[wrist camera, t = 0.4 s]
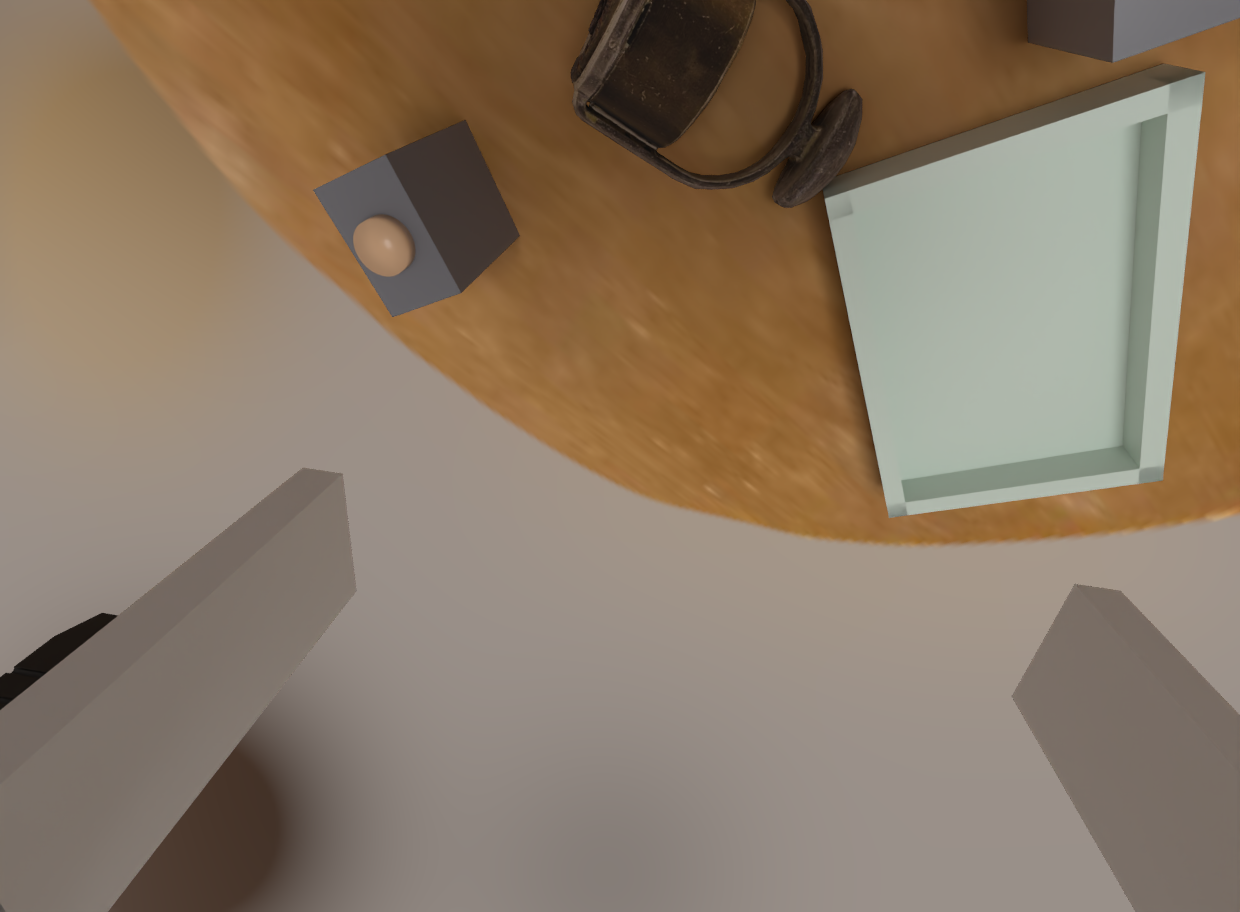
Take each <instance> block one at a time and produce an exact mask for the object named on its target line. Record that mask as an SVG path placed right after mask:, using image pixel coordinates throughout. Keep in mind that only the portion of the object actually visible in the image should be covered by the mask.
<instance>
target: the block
mask: <svg viewBox="0 0 1240 912" xmlns="http://www.w3.org/2000/svg"><path fill="white" fill-rule="evenodd" d="M1238 18H1240V0H1027V25H1028V43H1032V44H1036V45H1041V46H1045V47H1049V48H1053V49H1057V50H1061V51H1066V52H1070V53H1074V54H1078V55H1082V56H1087V57H1091V58H1095V59H1099V60H1103V61H1107V62H1112V63H1113V62H1116V61H1119V60H1122V59H1125V58H1127V57H1130V56H1133V55H1136V54H1139V53H1142V52H1144V51H1147V50H1150V49H1153V48H1156V47H1159V46H1161V45H1164V44H1167V43H1170V42H1173V41H1176V40H1178V39H1181V38H1184V37H1187V36H1190V35H1193V34H1195V33H1198V32H1201V31H1204V30H1207V29H1209V28H1212V27H1215V26H1218V25H1221V24H1224V23H1226V22H1229V21H1232V20H1235V19H1238Z"/></svg>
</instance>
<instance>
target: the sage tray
mask: <svg viewBox="0 0 1240 912" xmlns="http://www.w3.org/2000/svg"><path fill="white" fill-rule="evenodd" d="M1204 80H1205V72H1202V71H1197V70H1193V69H1188V68H1183V67H1178V66H1173V65H1169V64H1161V65H1158V66H1155V67H1152V68H1150V69H1147V70H1144V71H1141V72H1138V73H1135V74H1132V75H1129V76H1126V77H1123V78H1120V79H1118V80H1115V81H1112V82H1109V83H1106V84H1103V85H1100V86H1097V87H1094V88H1091V89H1088V90H1086V91H1083V92H1080V93H1077V94H1074V95H1071V96H1068V97H1065V98H1062V99H1059V100H1056V101H1054V102H1051V103H1048V104H1045V105H1042V106H1039V107H1036V108H1033V109H1030V110H1027V111H1025V112H1022V113H1019V114H1016V115H1013V116H1010V117H1007V118H1004V119H1001V120H998V121H995V122H993V123H990V124H987V125H984V126H981V127H978V128H975V129H972V130H969V131H966V132H963V133H961V134H958V135H955V136H952V137H949V138H946V139H943V140H940V141H937V142H934V143H931V144H929V145H926V146H923V147H920V148H917V149H914V150H911V151H908V152H905V153H902V154H899V155H897V156H894V157H891V158H888V159H885V160H882V161H879V162H876V163H873V164H870V165H868V166H865V167H862V168H859V169H856V170H853V171H850V172H847V173H844V174H841V175H838V176H836V177H834V178H833V180H832V181H830V182H829V183H828V184H827V185H826V186H825V187H824V188H823V194H824V198H825V203H826V208H827V213H828V218H829V223H830V228H831V233H832V238H833V243H834V248H835V253H836V258H837V263H838V268H839V273H840V278H841V283H842V287H843V292H844V297H845V302H846V307H847V312H848V317H849V322H850V327H851V332H852V337H853V342H854V347H855V352H856V357H857V362H858V367H859V372H860V376H861V381H862V386H863V391H864V396H865V401H866V406H867V411H868V416H869V421H870V426H871V431H872V436H873V441H874V446H875V451H876V456H877V461H878V466H879V470H880V475H881V480H882V485H883V490H884V495H885V500H886V505H887V510H888V514H889V518H891V517H898V516H905V515H913V514H920V513H927V512H935V511H942V510H949V509H957V508H964V507H971V506H979V505H986V504H993V503H1001V502H1008V501H1015V500H1023V499H1030V498H1037V497H1045V496H1052V495H1059V494H1067V493H1074V492H1082V491H1089V490H1096V489H1104V488H1111V487H1118V486H1126V485H1133V484H1140V483H1148V482H1155V481H1162V480H1163V472H1164V462H1165V453H1166V443H1167V434H1168V424H1169V415H1170V405H1171V396H1172V386H1173V376H1174V367H1175V357H1176V348H1177V338H1178V329H1179V319H1180V310H1181V300H1182V290H1183V281H1184V271H1185V262H1186V252H1187V243H1188V233H1189V224H1190V214H1191V205H1192V195H1193V185H1194V176H1195V166H1196V157H1197V147H1198V138H1199V128H1200V119H1201V109H1202V99H1203V90H1204Z"/></svg>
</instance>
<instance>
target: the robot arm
mask: <svg viewBox="0 0 1240 912" xmlns="http://www.w3.org/2000/svg"><path fill="white" fill-rule="evenodd" d="M355 592H356V583H355V574H354V566H353V557H352V549H351V541H350V532H349V523H348V516H347V507H346V498H345V490H344V481H343V474H341V473H334V472H328V471H321V470H314V469H307V468H302V469H301V470H299V471H298V472H297V473H296V474H294V475H293V476H292V477H291V478H289V479H288V480H287V481H286V482H284V483H283V484H282V485H281V486H279V487H278V488H277V489H276V490H274V491H273V492H272V493H271V494H269V495H268V496H267V497H266V498H264V499H263V500H262V501H261V502H259V503H258V504H257V505H256V506H254V508H252V509H251V510H250V511H248V512H247V513H246V514H245V515H243V516H242V517H241V518H239V519H238V520H237V521H236V522H234V523H233V524H232V525H231V526H229V527H228V528H227V529H226V530H225V531H223V532H222V533H221V534H219V535H218V536H217V537H216V538H214V539H213V540H212V541H211V542H209V543H208V544H207V545H206V546H204V547H203V548H202V549H201V550H200V551H199V552H197V553H196V554H195V555H193V556H192V557H191V558H190V559H188V560H187V561H186V562H185V563H183V564H182V565H181V566H180V567H178V568H177V569H176V570H175V571H173V572H172V573H171V574H170V575H168V576H167V577H166V578H165V579H163V580H162V581H161V582H160V583H158V584H157V585H156V586H155V587H153V588H152V589H151V590H150V591H148V592H147V593H146V594H145V595H143V596H142V597H141V598H140V599H138V600H137V601H136V602H135V603H134V604H132V605H131V606H130V607H128V608H127V609H126V610H125V611H123V612H122V613H121V614H120V615H118V616H117V615H112V614H106V613H101V614H99V615H97V616H95V617H93V618H91V619H89V620H87V621H85V622H83V623H80V624H78V625H76V626H75V627H72V628H70V629H68V630H66V631H64V632H62V633H60V634H58V635H56V636H54V637H53V638H52V639H50V640H49V641H48V642H46V643H45V644H44V645H42V646H41V647H40V648H38V649H37V650H36V651H34V652H33V653H32V654H31V655H29V656H28V657H26V658H25V659H24V660H22V661H21V662H20V663H18V664H17V665H16V666H14V671H13V672H12V673H5V674H4V675H2V676H1V677H0V912H108V910H109V909H110V908H111V907H112V905H113V904H114V903H115V901H116V900H117V899H118V897H119V896H120V895H121V894H122V892H123V891H124V890H125V889H126V887H127V886H128V885H129V883H130V882H131V881H132V879H133V878H134V877H135V875H136V874H137V873H138V872H139V871H140V869H141V868H142V866H143V865H144V864H145V863H146V861H147V860H148V859H149V858H150V856H151V855H152V854H153V852H154V851H155V850H156V849H157V847H158V846H159V845H160V843H161V842H162V841H163V840H164V838H165V837H166V836H167V834H168V833H169V832H170V830H171V829H172V828H173V827H174V825H175V824H176V823H177V822H178V820H179V819H180V818H181V816H182V815H183V814H184V813H185V811H186V810H187V809H188V807H189V806H190V805H191V804H192V802H193V801H194V799H195V798H196V797H197V796H198V795H199V793H200V792H201V791H202V789H203V788H204V787H205V785H206V784H207V783H208V782H209V780H210V779H211V778H212V776H213V775H214V774H215V772H216V771H217V770H218V769H219V767H220V766H221V764H223V762H224V761H225V760H226V758H227V757H228V756H229V755H230V753H231V752H232V751H233V749H234V748H235V747H236V746H237V744H238V743H239V742H240V740H241V739H242V738H243V736H244V735H245V734H246V733H247V731H248V730H249V729H250V728H251V726H252V725H253V724H254V722H255V721H256V720H257V718H258V717H259V716H260V714H261V713H262V712H263V711H264V709H265V708H266V707H267V706H268V704H269V703H270V702H271V700H272V699H273V698H274V697H275V695H276V694H277V693H278V691H279V690H280V689H281V688H282V686H283V685H284V684H285V682H286V681H287V680H288V679H289V677H290V676H291V675H292V673H293V672H294V671H295V670H296V668H297V667H298V666H299V664H300V663H301V662H302V660H303V659H304V658H305V657H306V655H307V654H308V653H309V651H310V650H311V649H312V648H313V646H314V645H315V644H316V642H317V641H318V640H319V639H320V637H321V636H322V635H323V633H324V632H325V631H326V630H327V628H328V627H329V626H330V624H331V623H332V622H333V621H334V619H335V618H336V617H337V615H338V614H339V613H340V611H341V610H342V609H343V607H344V606H345V605H346V604H347V602H348V601H349V600H350V599H351V597H352V596H353V595H354V594H355ZM1012 698H1013V700H1014V701H1015V703H1016V705H1017V707H1018V708H1019V710H1020V712H1021V714H1022V715H1023V717H1024V719H1025V721H1026V722H1027V724H1028V726H1029V728H1030V729H1031V731H1032V733H1033V734H1034V736H1035V738H1036V740H1037V741H1038V743H1039V745H1040V747H1041V748H1042V750H1043V752H1044V754H1045V755H1046V757H1047V759H1048V761H1049V762H1050V764H1051V766H1052V767H1053V769H1054V771H1055V773H1056V774H1057V776H1058V778H1059V780H1060V781H1061V783H1062V785H1063V787H1064V788H1065V790H1066V792H1067V794H1068V795H1069V797H1070V799H1071V801H1072V802H1073V804H1074V805H1075V808H1076V809H1077V811H1078V813H1079V814H1080V816H1081V818H1082V820H1083V821H1084V823H1085V825H1086V827H1087V828H1088V830H1089V832H1090V834H1091V835H1092V837H1093V839H1094V840H1095V842H1096V844H1097V846H1098V848H1099V849H1100V851H1101V853H1102V855H1103V856H1104V858H1105V860H1106V861H1107V863H1108V865H1109V866H1110V868H1111V870H1112V872H1113V874H1114V875H1115V877H1116V879H1117V881H1118V882H1119V884H1120V886H1121V887H1122V889H1123V891H1124V893H1125V895H1126V896H1127V898H1128V900H1129V901H1130V903H1131V905H1132V907H1133V908H1134V910H1135V912H1240V715H1239V714H1238V713H1237V712H1236V711H1235V710H1234V708H1232V706H1231V705H1229V703H1228V702H1227V701H1226V700H1225V699H1224V698H1223V697H1222V696H1221V695H1220V694H1219V693H1218V692H1217V691H1216V690H1215V689H1214V688H1213V687H1212V686H1211V685H1210V683H1208V681H1207V680H1206V679H1205V678H1204V677H1203V676H1202V675H1201V674H1200V673H1199V672H1198V671H1197V670H1196V669H1195V668H1194V667H1193V666H1192V665H1191V664H1190V663H1189V662H1188V661H1187V660H1186V659H1185V657H1184V656H1183V655H1181V653H1180V652H1179V651H1178V650H1177V649H1176V648H1175V647H1174V646H1173V645H1172V644H1171V643H1170V642H1169V641H1168V640H1167V639H1166V638H1165V637H1164V636H1163V635H1162V634H1161V633H1160V631H1159V630H1158V629H1157V628H1156V627H1155V626H1154V625H1153V624H1152V623H1151V622H1150V621H1149V620H1148V619H1147V618H1146V617H1145V616H1144V615H1143V614H1142V613H1141V612H1140V611H1139V610H1138V609H1137V607H1136V606H1134V604H1133V603H1132V602H1131V601H1130V600H1129V599H1128V598H1127V597H1126V596H1125V595H1124V594H1123V593H1122V592H1121V591H1118V590H1111V589H1105V588H1098V587H1092V586H1085V585H1078V584H1074V586H1073V588H1072V590H1071V592H1070V593H1069V595H1068V597H1067V599H1066V601H1065V602H1064V604H1063V606H1062V608H1061V609H1060V611H1059V613H1058V615H1057V617H1056V618H1055V620H1054V622H1053V624H1052V625H1051V627H1050V629H1049V631H1048V633H1047V634H1046V636H1045V638H1044V640H1043V642H1042V643H1041V645H1040V647H1039V649H1038V650H1037V652H1036V654H1035V656H1034V658H1033V659H1032V661H1031V663H1030V665H1029V667H1028V668H1027V670H1026V672H1025V674H1024V676H1023V677H1022V679H1021V681H1020V683H1019V684H1018V686H1017V688H1016V690H1015V692H1014V693H1013V695H1012Z"/></svg>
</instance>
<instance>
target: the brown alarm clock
mask: <svg viewBox="0 0 1240 912" xmlns="http://www.w3.org/2000/svg"><path fill="white" fill-rule="evenodd" d="M786 1H787V3H788V4H789V5H790V6H791V7H792V8H793V10H794V13H795V15H796V17H797V19H798V22H799V27H800V32H801V36H802V41H803V45H804V49H805V54H806V72H805V81H804V88H803V95H802V98H801V100H800V103H799V106H798V108H797V111H796V113H795V116H794V118H793V120H792V122H791V123H790V125H789V126H788V128H787V129H786V131H785V132H784V134H783V135H782V136H781V138H780V139H779V140H778V142H777V143H776V144H775V145H774V147H773V148H772V149H771V150H770V151H769V152H768V153H767V154H766V155H765V156H764V157H763V158H762V159H760V160H759V161H758V162H756V163H754V164H753V165H751V166H749V167H748V168H746V169H743V170H741V171H739V172H736V173H730V174H725V175H699V174H695V173H691V172H688V171H686V170H684V169H683V168H681V167H679V166H677V165H676V164H674V163H673V162H671V161H670V160H668V159H667V158H665V157H664V156H662V155H661V154H659V153H658V152H657V151H656V150H657V149H658V148H665V147H667V146H669V145H671V144H672V143H674V142H675V141H677V140H678V139H679V138H680V137H681V136H682V135H683V134H684V133H685V132H686V130H687V129H688V128H689V127H690V126H691V125H692V124H693V122H694V121H695V120H696V119H697V117H698V116H699V115H700V114H701V112H702V111H703V110H704V109H705V107H706V106H707V105H708V103H709V102H710V100H711V99H712V97H713V96H714V94H715V93H716V91H717V89H718V87H719V85H720V84H721V82H722V80H723V78H724V76H725V74H726V73H727V71H728V69H729V68H730V66H731V64H732V62H733V60H734V59H735V57H736V55H737V53H738V51H739V49H740V47H741V46H742V43H743V41H744V38H745V36H746V33H747V31H748V28H749V26H750V23H751V20H752V17H753V13H754V10H755V6H756V0H600V3H599V5H598V9H597V10H596V12H595V15H594V18H593V20H592V22H591V24H590V28H589V34H588V36H587V39H586V41H585V43H584V45H583V48H582V50H581V52H580V55H579V57H577V59H576V61H575V63H574V65H573V67H572V69H571V79H572V83H573V84H574V89H575V91H574V95H573V100H572V103H573V106H574V109H575V113H576V115H577V116H578V117H579V118H580V119H581V120H582V121H584V122H586V123H587V124H589V125H590V126H592V127H593V128H595V129H596V130H598V131H599V132H601V133H602V134H604V135H606V136H607V137H609V138H610V139H612V140H613V141H615V142H616V143H618V144H619V145H621V146H623V147H624V148H626V149H627V150H629V151H630V152H632V153H633V154H635V155H637V156H638V157H640V158H641V159H643V160H645V161H646V162H648V163H649V164H651V165H652V166H654V167H656V168H657V169H659V170H660V171H662V172H663V173H665V174H666V175H668V176H669V177H671V178H672V179H674V180H676V181H679V182H681V183H683V184H685V185H688V186H690V187H692V188H694V189H727V188H734V187H738V186H741V185H744V184H747V183H750V182H753V181H755V180H757V179H758V178H760V177H762V176H764V175H765V174H767V173H769V172H770V171H771V170H772V169H773V168H775V167H776V166H777V165H778V164H779V163H780V162H782V161H783V160H784V159H785V158H787V157H789V159H788V161H787V163H786V165H785V167H784V169H783V170H782V172H781V174H780V176H779V179H778V181H777V183H776V186H775V188H774V192H773V196H772V198H773V200H774V202H775V203H777V204H778V205H780V206H782V207H784V208H792V207H794V206H796V205H799V204H801V203H804V202H806V201H808V200H809V199H811V198H812V197H814V196H815V195H816V194H817V193H819V192H820V191H821V190H822V189H823V188H824V187H825V186H826V185H827V184H828V183H829V182H830V181H832V180H833V178H834V177H835V176H836V175H837V173H838V172H839V171H840V169H841V168H842V167H843V166H844V164H845V163H846V161H847V159H848V157H849V155H850V154H851V152H852V150H853V148H854V146H855V144H856V140H857V136H858V132H859V128H860V124H861V120H862V98H861V97H860V96H859V94H858V93H857V92H856V91H855V90H854V89H849V90H846V91H843V92H842V93H841V94H840V95H839V96H837V97H836V98H835V99H834V100H833V101H832V102H830V103H829V105H828V106H827V107H826V108H825V109H824V111H823V112H822V113H821V114H820V115H819V116H818V118H817V119H816V120H815V121H814V122H813V124H812V125H811V121H812V118H813V115H814V112H815V109H816V107H817V102H818V98H819V93H820V89H821V85H822V80H823V50H822V44H821V39H820V35H819V32H818V29H817V25H816V22H815V19H814V16H813V13H812V9H811V7H810V5H809V4H808V3H807V1H806V0H786ZM587 101H588V102H590V104H589V107H588V106H587V105H586V104H587Z"/></svg>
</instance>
